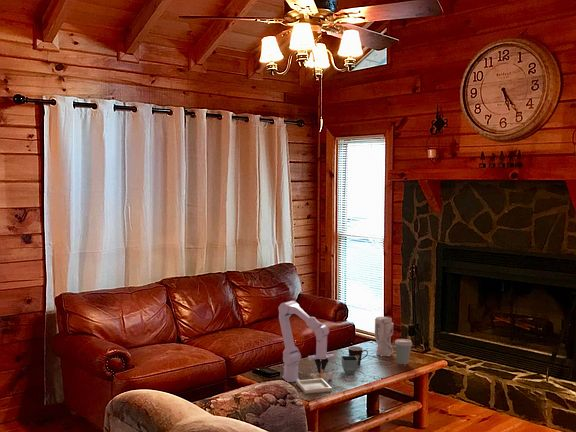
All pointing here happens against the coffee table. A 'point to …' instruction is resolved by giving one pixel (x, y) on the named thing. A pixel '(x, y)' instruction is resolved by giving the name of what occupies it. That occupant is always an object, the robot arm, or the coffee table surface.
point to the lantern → (383, 335)
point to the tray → (314, 386)
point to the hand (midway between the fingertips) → (320, 372)
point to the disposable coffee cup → (403, 350)
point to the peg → (330, 377)
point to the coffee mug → (356, 352)
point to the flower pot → (349, 364)
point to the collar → (319, 374)
